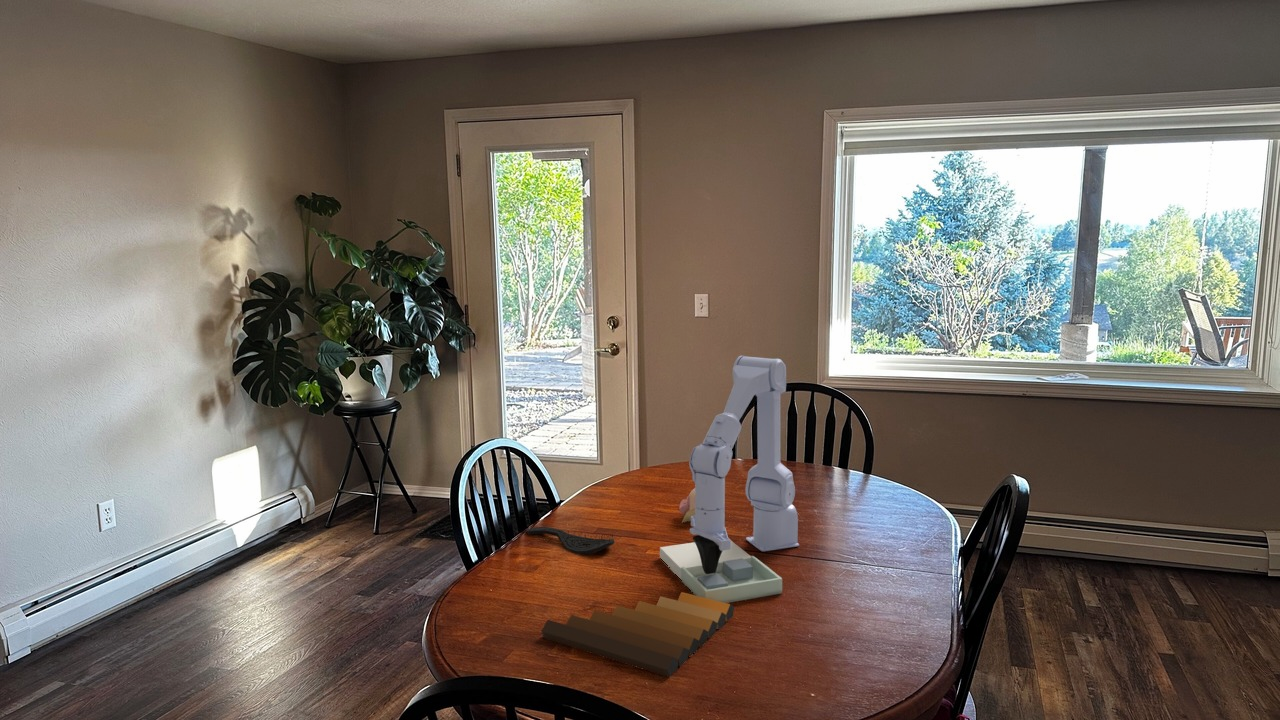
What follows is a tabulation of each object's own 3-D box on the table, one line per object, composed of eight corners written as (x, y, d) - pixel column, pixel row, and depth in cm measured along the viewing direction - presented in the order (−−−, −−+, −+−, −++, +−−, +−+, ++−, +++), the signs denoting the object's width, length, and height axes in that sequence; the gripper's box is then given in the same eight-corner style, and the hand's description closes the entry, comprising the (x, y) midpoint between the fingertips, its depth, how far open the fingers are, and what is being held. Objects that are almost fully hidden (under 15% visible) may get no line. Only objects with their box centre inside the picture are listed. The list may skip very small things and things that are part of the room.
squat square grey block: (742, 569, 165) (742, 558, 165) (752, 578, 161) (753, 566, 161) (722, 573, 164) (722, 561, 163) (732, 581, 160) (733, 569, 159)
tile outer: (727, 583, 153) (727, 595, 154) (718, 573, 158) (718, 585, 158) (706, 586, 152) (706, 598, 152) (697, 576, 156) (697, 588, 157)
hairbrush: (538, 516, 193) (622, 531, 179) (539, 530, 193) (623, 547, 179) (514, 526, 186) (599, 543, 172) (515, 541, 187) (600, 560, 172)
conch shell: (721, 516, 200) (727, 499, 192) (694, 543, 195) (699, 526, 188) (694, 492, 203) (698, 475, 196) (667, 518, 199) (670, 500, 191)
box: (753, 569, 167) (753, 555, 166) (782, 593, 156) (782, 578, 155) (681, 581, 161) (681, 567, 161) (705, 606, 150) (705, 591, 150)
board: (727, 548, 178) (727, 537, 178) (752, 568, 167) (752, 557, 167) (659, 558, 173) (659, 547, 173) (681, 580, 162) (681, 568, 161)
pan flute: (541, 642, 139) (667, 682, 126) (541, 623, 138) (667, 662, 125) (619, 588, 160) (734, 617, 147) (619, 571, 159) (734, 600, 146)
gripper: (676, 497, 161) (676, 561, 163) (706, 520, 148) (706, 590, 150) (708, 493, 164) (708, 556, 166) (740, 515, 150) (740, 584, 152)
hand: (709, 572), depth 158 cm, fingers closed
